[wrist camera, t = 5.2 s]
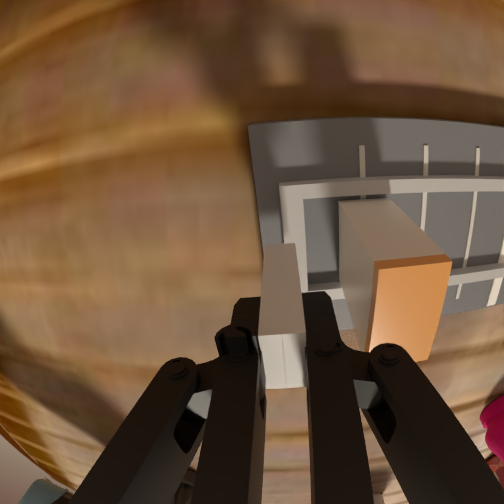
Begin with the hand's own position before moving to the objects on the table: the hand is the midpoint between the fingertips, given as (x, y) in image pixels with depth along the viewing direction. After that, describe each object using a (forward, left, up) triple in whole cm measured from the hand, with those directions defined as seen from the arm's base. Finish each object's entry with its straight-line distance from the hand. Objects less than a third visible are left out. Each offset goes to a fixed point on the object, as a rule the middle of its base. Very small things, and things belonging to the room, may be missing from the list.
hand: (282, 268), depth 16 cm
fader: (+5, 0, -3) cm, 6 cm away
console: (+12, 0, -5) cm, 13 cm away
